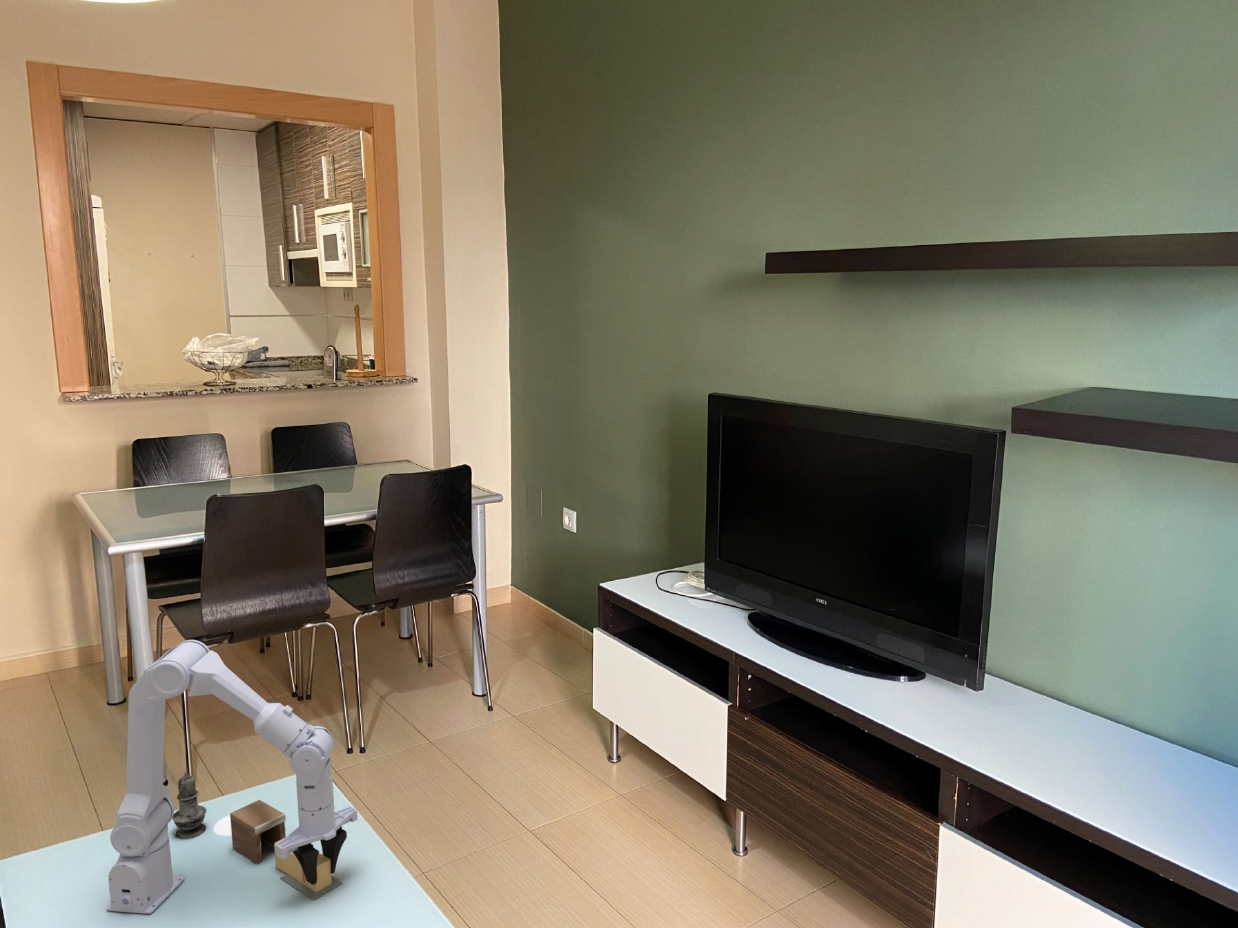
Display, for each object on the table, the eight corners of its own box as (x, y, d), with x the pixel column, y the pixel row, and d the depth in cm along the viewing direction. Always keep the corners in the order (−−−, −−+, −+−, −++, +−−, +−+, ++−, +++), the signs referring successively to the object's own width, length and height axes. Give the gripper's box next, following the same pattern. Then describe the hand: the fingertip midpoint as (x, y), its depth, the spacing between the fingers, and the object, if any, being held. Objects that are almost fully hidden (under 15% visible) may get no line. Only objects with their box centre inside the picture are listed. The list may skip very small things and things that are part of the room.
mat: (313, 900, 149) (313, 898, 149) (280, 878, 154) (280, 877, 154) (342, 883, 153) (342, 882, 153) (308, 862, 159) (308, 861, 159)
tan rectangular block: (316, 892, 150) (314, 867, 150) (275, 866, 157) (273, 843, 157) (331, 883, 153) (330, 859, 152) (291, 858, 160) (289, 835, 159)
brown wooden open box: (258, 865, 158) (255, 828, 157) (232, 848, 163) (229, 813, 162) (287, 849, 163) (285, 814, 162) (262, 834, 168) (259, 799, 167)
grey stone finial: (213, 830, 169) (208, 771, 167) (180, 843, 165) (175, 783, 163) (200, 818, 173) (195, 761, 171) (168, 831, 169) (162, 772, 167)
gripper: (291, 829, 141) (296, 907, 144) (366, 791, 153) (370, 864, 155) (265, 815, 146) (271, 891, 148) (341, 778, 157) (345, 849, 159)
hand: (320, 876), depth 152 cm, fingers closed on tan rectangular block, 3 cm apart
